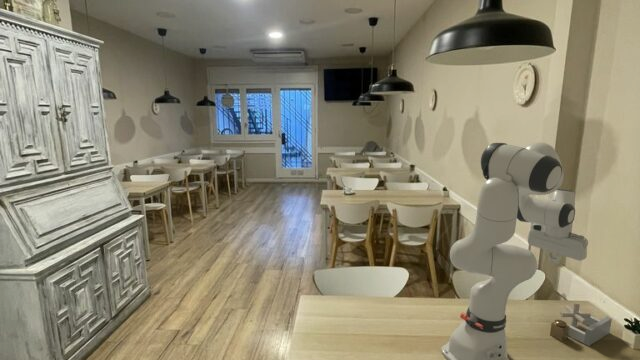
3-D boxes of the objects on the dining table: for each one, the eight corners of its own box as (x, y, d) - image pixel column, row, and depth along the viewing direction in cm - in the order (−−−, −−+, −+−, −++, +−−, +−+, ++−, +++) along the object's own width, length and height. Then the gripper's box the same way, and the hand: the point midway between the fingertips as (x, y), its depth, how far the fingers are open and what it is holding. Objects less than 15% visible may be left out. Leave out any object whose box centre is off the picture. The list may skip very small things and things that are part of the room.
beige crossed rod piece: (578, 318, 137) (581, 295, 135) (596, 334, 127) (600, 310, 125) (552, 318, 137) (555, 295, 135) (568, 334, 128) (571, 310, 126)
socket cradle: (588, 346, 121) (591, 330, 120) (554, 328, 131) (555, 314, 130) (609, 333, 128) (611, 318, 127) (575, 317, 138) (577, 303, 137)
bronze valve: (561, 341, 124) (563, 327, 123) (549, 335, 127) (551, 321, 126) (567, 337, 126) (569, 323, 125) (556, 332, 129) (557, 318, 128)
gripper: (592, 235, 126) (587, 271, 128) (536, 221, 144) (532, 252, 146) (584, 238, 123) (579, 274, 125) (527, 223, 141) (523, 255, 143)
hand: (553, 262), depth 136 cm, fingers closed
